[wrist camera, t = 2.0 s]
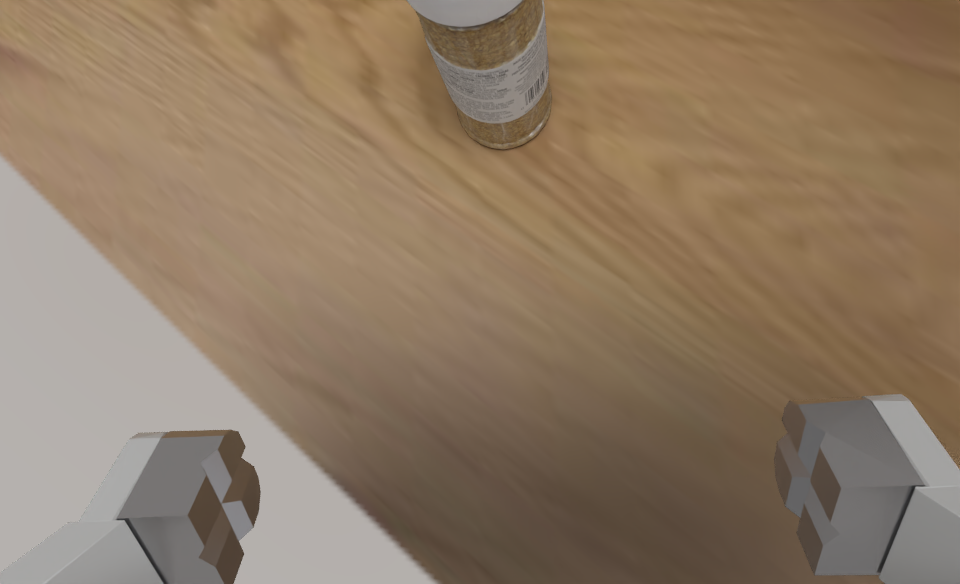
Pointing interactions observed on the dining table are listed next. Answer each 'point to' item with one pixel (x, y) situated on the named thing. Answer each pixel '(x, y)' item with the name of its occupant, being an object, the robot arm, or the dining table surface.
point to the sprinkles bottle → (491, 65)
